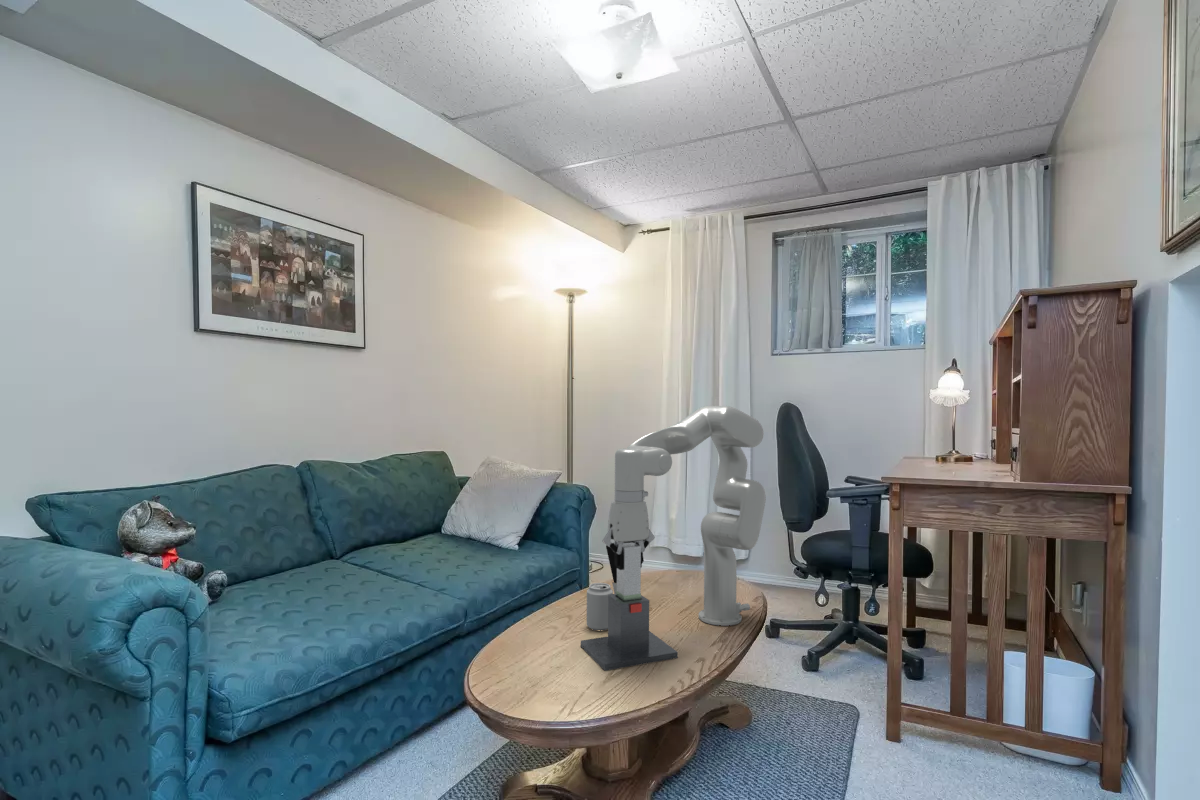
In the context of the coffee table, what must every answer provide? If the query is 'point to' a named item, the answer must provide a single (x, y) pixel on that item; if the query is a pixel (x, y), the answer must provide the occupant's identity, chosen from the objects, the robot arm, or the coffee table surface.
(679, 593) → the coffee table surface
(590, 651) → the stand housing
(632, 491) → the robot arm
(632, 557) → the column
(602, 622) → the can
